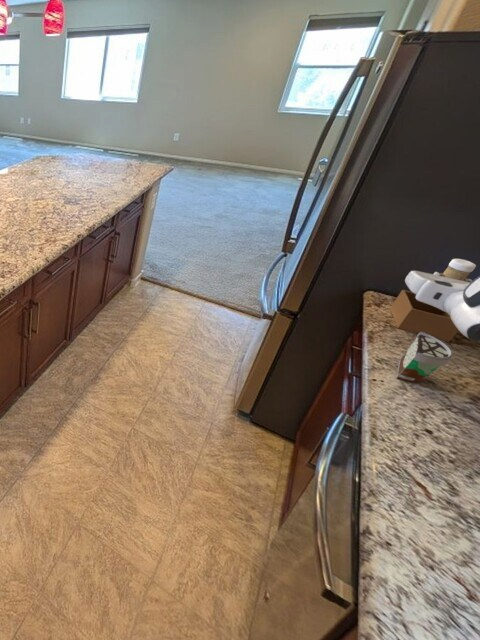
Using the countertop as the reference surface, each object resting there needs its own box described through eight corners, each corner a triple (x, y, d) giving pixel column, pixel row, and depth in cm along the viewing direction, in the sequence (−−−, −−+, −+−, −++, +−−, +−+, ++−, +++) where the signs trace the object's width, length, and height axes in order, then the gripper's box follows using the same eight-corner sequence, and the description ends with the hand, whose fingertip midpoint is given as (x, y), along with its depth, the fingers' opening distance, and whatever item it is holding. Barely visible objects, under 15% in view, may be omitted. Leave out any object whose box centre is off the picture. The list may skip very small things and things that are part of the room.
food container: (429, 395, 97) (454, 367, 92) (395, 381, 101) (418, 353, 96) (431, 369, 104) (455, 342, 99) (399, 357, 108) (420, 330, 103)
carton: (437, 319, 121) (452, 301, 117) (449, 342, 113) (465, 322, 109) (389, 307, 127) (402, 289, 123) (397, 328, 118) (411, 309, 114)
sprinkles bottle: (420, 295, 117) (447, 257, 110) (437, 296, 116) (466, 258, 109) (432, 304, 113) (462, 265, 106) (450, 305, 112) (482, 267, 106)
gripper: (537, 305, 95) (512, 279, 105) (421, 279, 105) (409, 258, 115) (518, 324, 98) (496, 298, 108) (408, 298, 108) (397, 275, 118)
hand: (450, 277), depth 111 cm, fingers closed on sprinkles bottle, 4 cm apart
